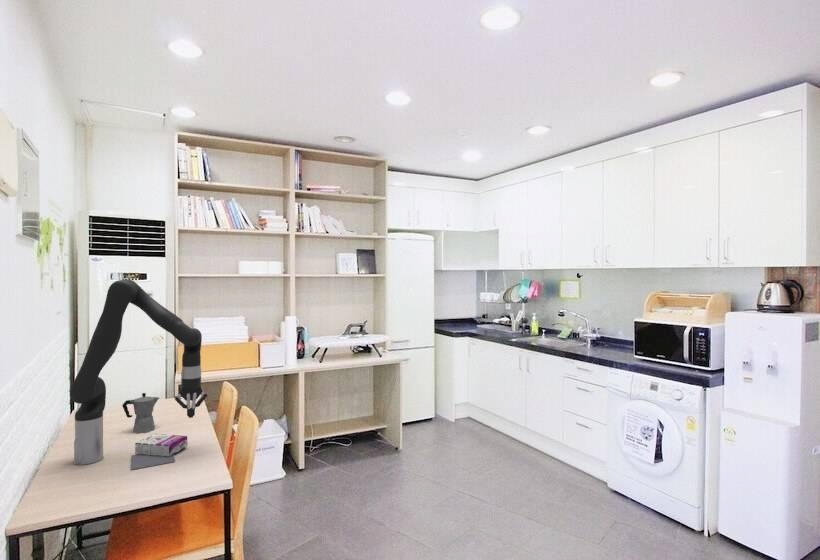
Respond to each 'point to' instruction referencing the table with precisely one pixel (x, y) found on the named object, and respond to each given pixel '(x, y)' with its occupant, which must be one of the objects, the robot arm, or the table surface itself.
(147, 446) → the candy bar box
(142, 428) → the coffeepot
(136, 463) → the mat
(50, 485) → the table surface
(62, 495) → the table surface
